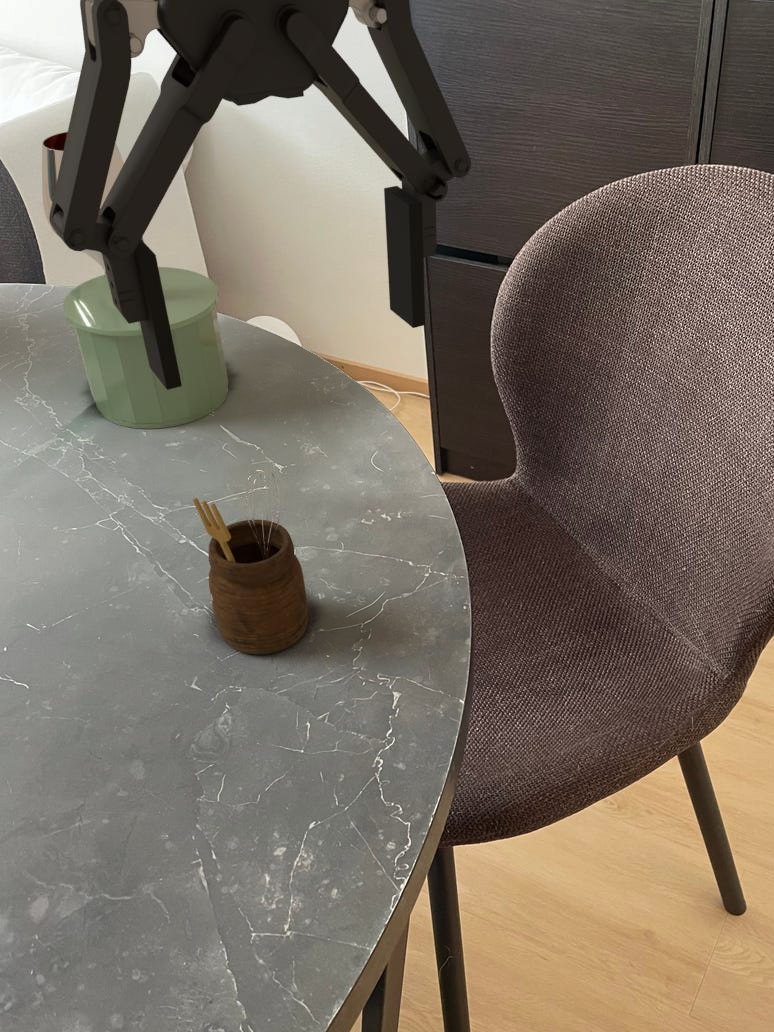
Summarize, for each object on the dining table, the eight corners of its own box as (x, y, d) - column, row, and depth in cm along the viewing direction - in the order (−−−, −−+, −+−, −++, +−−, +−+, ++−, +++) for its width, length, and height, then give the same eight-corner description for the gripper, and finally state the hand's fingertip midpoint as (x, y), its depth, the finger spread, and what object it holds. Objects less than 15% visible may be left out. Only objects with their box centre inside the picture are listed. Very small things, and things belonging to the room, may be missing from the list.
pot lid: (34, 329, 83) (11, 254, 79) (121, 271, 92) (105, 200, 88) (169, 353, 81) (153, 276, 76) (246, 290, 89) (235, 218, 85)
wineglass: (81, 365, 96) (25, 159, 84) (80, 327, 101) (28, 129, 89) (172, 354, 97) (130, 151, 85) (166, 317, 103) (126, 122, 91)
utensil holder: (327, 614, 70) (309, 460, 62) (273, 672, 65) (246, 515, 57) (254, 589, 72) (227, 436, 64) (197, 644, 67) (160, 488, 59)
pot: (68, 415, 89) (41, 321, 83) (142, 357, 97) (121, 267, 91) (185, 438, 86) (165, 342, 81) (251, 376, 94) (237, 285, 89)
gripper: (-100, -143, 33) (70, 441, 47) (554, -171, 43) (531, 320, 57) (-133, -164, 38) (30, 372, 52) (461, -185, 47) (462, 272, 62)
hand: (292, 346), depth 54 cm, fingers open, 13 cm apart
